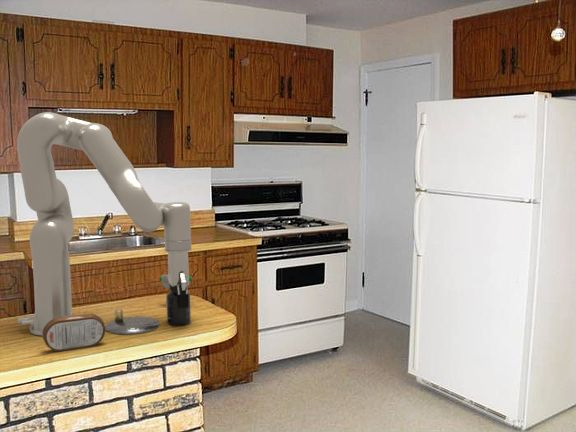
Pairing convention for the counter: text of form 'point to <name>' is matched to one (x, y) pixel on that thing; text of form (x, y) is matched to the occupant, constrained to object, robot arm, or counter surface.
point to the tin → (73, 332)
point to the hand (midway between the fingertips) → (180, 303)
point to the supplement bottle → (177, 309)
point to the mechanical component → (166, 283)
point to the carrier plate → (130, 324)
